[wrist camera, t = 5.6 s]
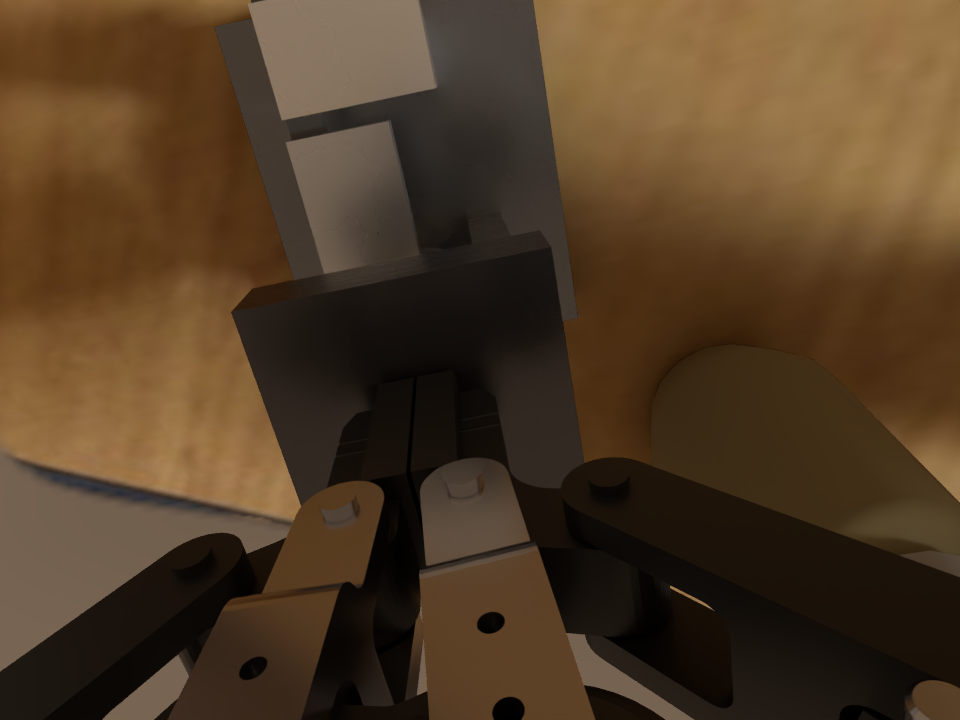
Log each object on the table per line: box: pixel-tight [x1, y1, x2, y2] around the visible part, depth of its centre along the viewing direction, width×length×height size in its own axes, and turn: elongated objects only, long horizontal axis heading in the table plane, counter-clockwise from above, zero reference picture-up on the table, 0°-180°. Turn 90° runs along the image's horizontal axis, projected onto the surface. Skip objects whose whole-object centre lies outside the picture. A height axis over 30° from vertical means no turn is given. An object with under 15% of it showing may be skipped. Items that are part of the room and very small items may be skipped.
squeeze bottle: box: [650, 344, 960, 577], centre depth 21 cm, size 8×8×18 cm
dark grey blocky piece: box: [231, 120, 584, 506], centre depth 17 cm, size 8×6×10 cm
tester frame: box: [214, 0, 578, 321], centre depth 19 cm, size 12×10×12 cm
